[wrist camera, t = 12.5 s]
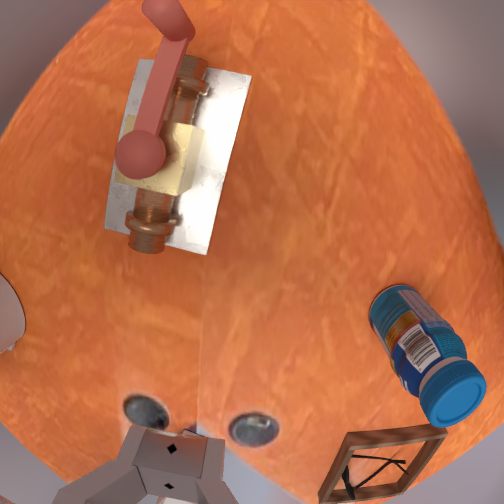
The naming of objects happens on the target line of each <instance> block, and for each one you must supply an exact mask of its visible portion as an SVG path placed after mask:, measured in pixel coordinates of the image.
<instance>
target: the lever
mask: <svg viewBox="0 0 504 504" xmlns="http://www.w3.org/2000/svg"><path fill="white" fill-rule="evenodd" d="M142 12H143V13H144V15H145V16H146V17H147V18H148V19H149V20H150V21H151V22H152V23H153V24H154V25H155V26H156V27H157V28H158V29H159V31H160V32H161V33H162V34H163V35H164V36H163V39H162V41H161V44H160V47H159V49H158V52H157V55H156V58H155V60H154V63H153V66H152V69H151V72H150V75H149V78H148V81H147V84H146V87H145V90H144V94H143V97H142V100H141V103H140V107H139V110H138V114H137V117H136V121H135V124H134V128H133V131H131V132H128V133H127V134H125V135H124V136H123V137H122V138H121V139H120V141H119V142H118V144H117V146H116V149H115V163H116V166H117V168H118V170H119V171H120V172H121V173H122V174H123V175H124V176H125V177H127V178H129V179H133V180H140V179H144V178H148V177H151V176H153V175H155V174H156V173H157V172H158V171H159V170H160V169H161V168H162V166H163V164H164V162H165V158H166V149H165V145H164V143H163V141H162V139H161V138H160V137H159V133H160V129H161V126H162V122H163V119H164V116H165V112H166V109H167V106H168V102H169V99H170V96H171V93H172V90H173V87H174V84H175V81H176V78H177V75H178V72H179V69H180V66H181V63H182V60H183V57H184V55H185V52H186V49H187V47H188V44H189V42H190V41H191V40H192V39H193V38H194V36H195V28H194V26H193V24H192V22H191V21H190V19H189V17H188V16H187V14H186V12H185V11H184V9H183V8H182V6H181V4H180V3H179V1H178V0H144V2H143V4H142Z"/></svg>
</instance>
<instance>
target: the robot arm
mask: <svg viewBox="0 0 504 504" xmlns="http://www.w3.org/2000/svg"><path fill="white" fill-rule="evenodd" d="M24 331H25V317H24V313H23V309H22V306H21V304H20V301H19V299H18V297H17V295H16V293H15V292H14V290H13V288H12V287H11V286H10V284H9V283H8V282H7V281H6V280H5V278H4V277H3V276H2V275H1V274H0V354H1V353H2V352H4V351H5V350H6V349H7V350H9V351H11V350H12V349H14V347H15V344H16V341H17V340H19V339H20V338H21V337H22V336H23V334H24ZM224 451H225V439H215V438H208V437H201V436H193V435H186V434H179V433H178V434H176V433H171V432H166V431H161V430H156V429H152V428H148V427H143V426H139V425H134V424H133V425H132V426H131V427H130V428H129V431H128V433H127V435H126V438H125V440H124V442H123V445H122V447H121V449H120V452H119V454H118V456H117V459H116V461H114V460H110V461H109V462H107V463H105V464H104V465H102V466H100V467H99V468H97V469H95V470H93V471H92V472H90V473H88V474H87V475H85V476H83V477H81V478H79V479H78V480H76V481H74V482H72V483H70V484H69V485H67V486H65V487H63V488H61V489H59V491H58V493H57V495H56V497H55V499H54V501H53V503H52V504H137V503H138V502H139V501H140V500H141V499H142V498H144V497H145V496H146V495H147V494H151V495H156V496H161V497H167V498H173V499H178V500H183V501H188V502H194V503H198V504H238V502H237V500H236V499H235V497H234V496H233V495H232V493H231V491H230V490H229V488H228V487H227V485H226V483H225V482H224V481H222V478H223V467H224ZM0 504H14V503H12V502H11V501H9V500H7V499H6V498H4V497H2V496H1V495H0Z"/></svg>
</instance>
